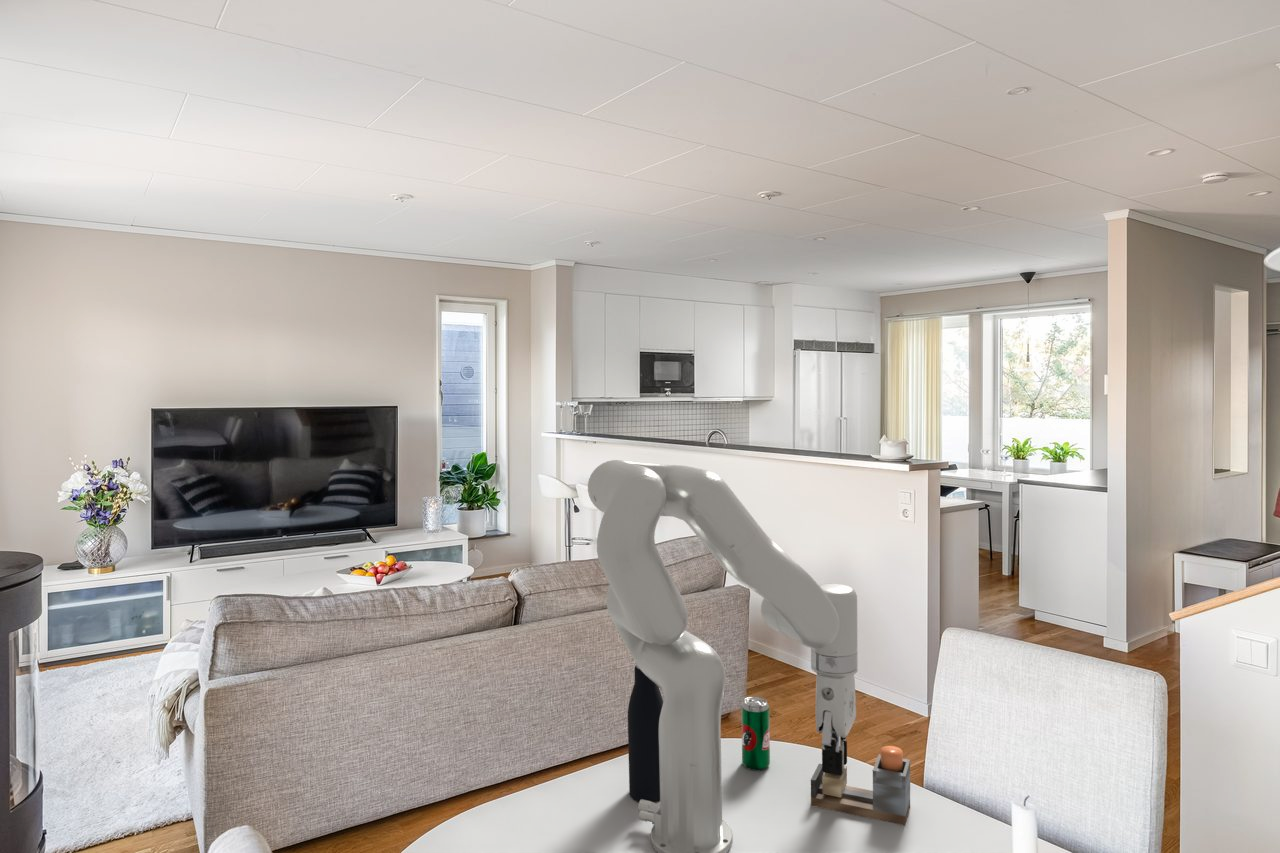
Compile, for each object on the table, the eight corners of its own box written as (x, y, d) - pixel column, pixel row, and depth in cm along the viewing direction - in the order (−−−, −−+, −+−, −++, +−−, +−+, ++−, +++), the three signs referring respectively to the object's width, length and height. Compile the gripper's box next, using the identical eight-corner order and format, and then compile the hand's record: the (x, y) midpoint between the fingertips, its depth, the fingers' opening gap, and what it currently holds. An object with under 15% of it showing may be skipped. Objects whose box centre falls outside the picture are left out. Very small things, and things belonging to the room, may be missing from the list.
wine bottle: (624, 800, 136) (620, 626, 134) (635, 782, 143) (632, 615, 141) (661, 805, 135) (657, 629, 133) (670, 786, 141) (667, 618, 139)
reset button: (879, 769, 130) (879, 753, 129) (882, 759, 133) (882, 744, 132) (901, 773, 128) (901, 757, 128) (904, 763, 131) (904, 748, 131)
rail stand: (811, 805, 134) (810, 758, 133) (819, 788, 139) (818, 743, 138) (905, 825, 127) (905, 776, 127) (910, 807, 132) (910, 759, 132)
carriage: (822, 793, 133) (822, 746, 133) (829, 779, 138) (828, 734, 137) (840, 797, 132) (840, 749, 131) (846, 783, 136) (846, 737, 136)
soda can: (769, 772, 145) (768, 707, 144) (741, 770, 146) (740, 705, 145) (770, 759, 150) (769, 696, 149) (743, 757, 151) (742, 694, 150)
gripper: (847, 680, 124) (847, 796, 125) (866, 647, 139) (866, 751, 140) (799, 673, 128) (800, 786, 129) (822, 642, 142) (823, 743, 143)
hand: (834, 766), depth 134 cm, fingers closed on carriage, 3 cm apart
